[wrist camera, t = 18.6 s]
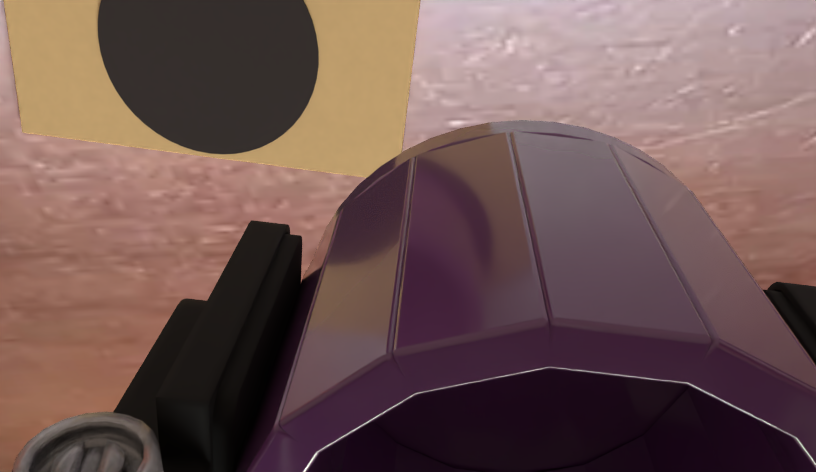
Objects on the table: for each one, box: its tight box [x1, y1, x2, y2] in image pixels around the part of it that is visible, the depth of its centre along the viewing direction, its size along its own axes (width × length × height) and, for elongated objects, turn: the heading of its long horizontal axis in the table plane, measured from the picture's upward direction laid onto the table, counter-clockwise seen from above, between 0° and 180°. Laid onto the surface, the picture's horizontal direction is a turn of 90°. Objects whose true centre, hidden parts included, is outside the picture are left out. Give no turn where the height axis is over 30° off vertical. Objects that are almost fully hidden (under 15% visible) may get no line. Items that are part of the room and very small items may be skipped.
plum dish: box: [236, 120, 816, 472], centre depth 9 cm, size 7×7×5 cm
